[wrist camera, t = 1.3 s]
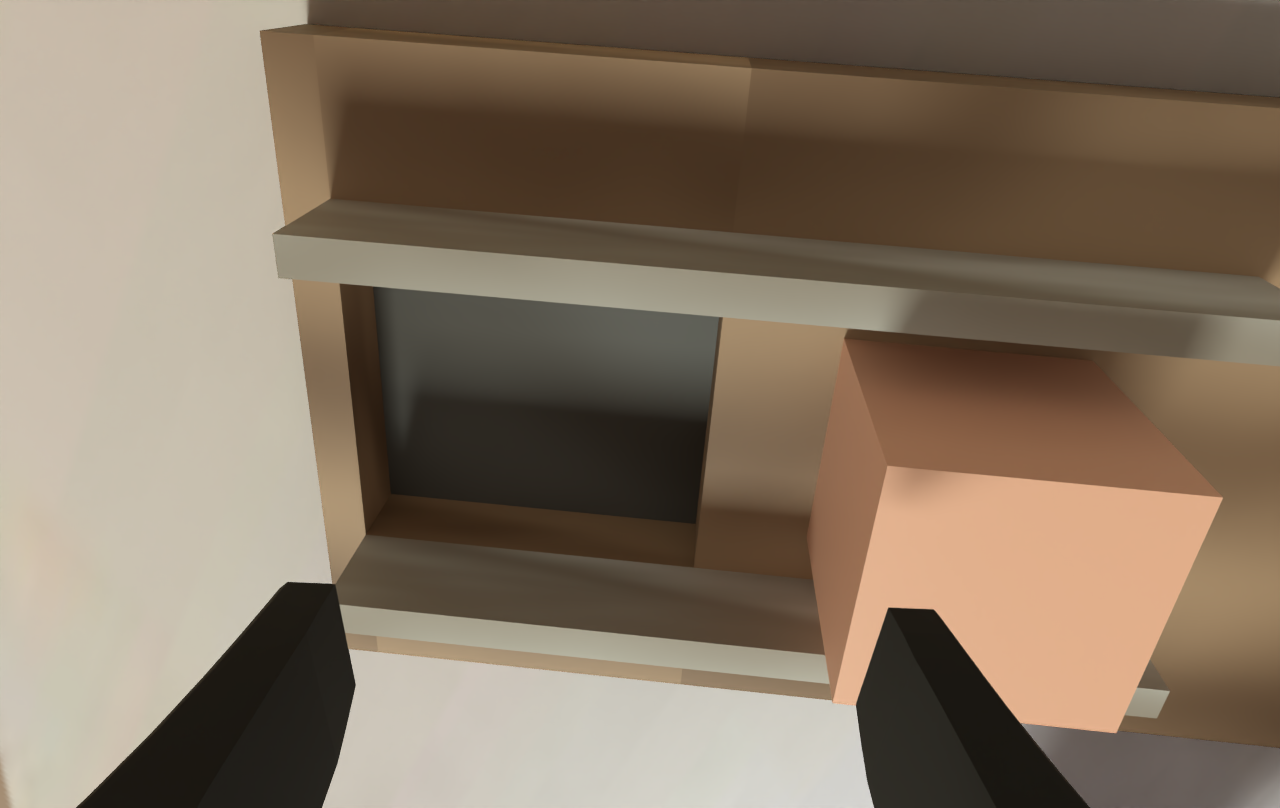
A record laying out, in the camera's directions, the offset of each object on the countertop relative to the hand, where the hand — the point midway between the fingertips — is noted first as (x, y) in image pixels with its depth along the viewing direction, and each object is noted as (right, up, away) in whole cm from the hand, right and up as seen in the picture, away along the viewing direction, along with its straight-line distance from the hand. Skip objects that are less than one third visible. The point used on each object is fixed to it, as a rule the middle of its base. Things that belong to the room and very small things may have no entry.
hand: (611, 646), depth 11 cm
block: (+7, +2, +7) cm, 10 cm away
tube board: (+8, +3, +9) cm, 12 cm away
